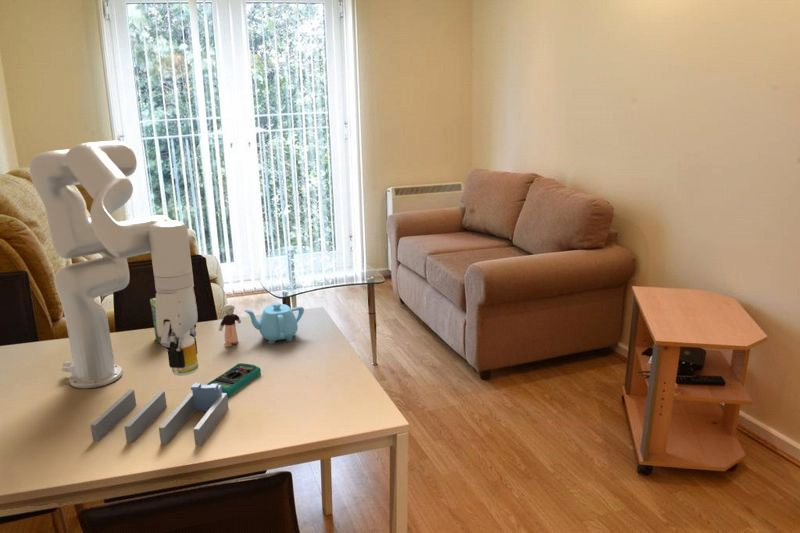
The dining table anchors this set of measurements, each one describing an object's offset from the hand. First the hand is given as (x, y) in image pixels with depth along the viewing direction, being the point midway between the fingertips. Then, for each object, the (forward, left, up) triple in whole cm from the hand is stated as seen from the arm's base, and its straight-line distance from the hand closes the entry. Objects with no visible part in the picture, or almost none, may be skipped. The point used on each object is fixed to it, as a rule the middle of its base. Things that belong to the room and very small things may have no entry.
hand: (183, 360), depth 130 cm
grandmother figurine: (-9, +48, -17) cm, 52 cm away
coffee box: (-31, +48, -17) cm, 59 cm away
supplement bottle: (0, 0, -3) cm, 3 cm away
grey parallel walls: (-8, +2, -17) cm, 19 cm away
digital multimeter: (+1, +23, -18) cm, 29 cm away
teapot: (+3, +53, -17) cm, 56 cm away
